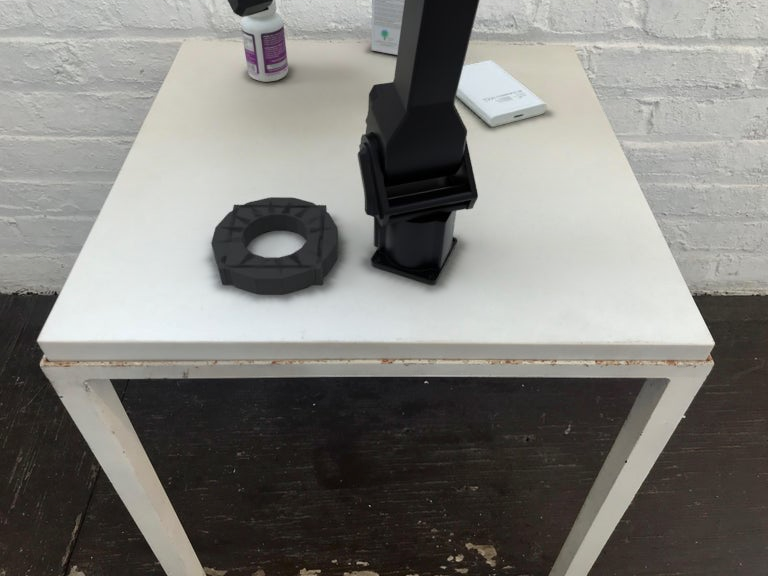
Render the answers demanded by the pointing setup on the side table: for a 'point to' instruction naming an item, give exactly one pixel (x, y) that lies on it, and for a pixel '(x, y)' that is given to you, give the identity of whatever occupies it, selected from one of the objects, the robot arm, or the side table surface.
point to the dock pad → (275, 271)
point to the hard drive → (496, 94)
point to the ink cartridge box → (386, 25)
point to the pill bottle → (265, 45)
